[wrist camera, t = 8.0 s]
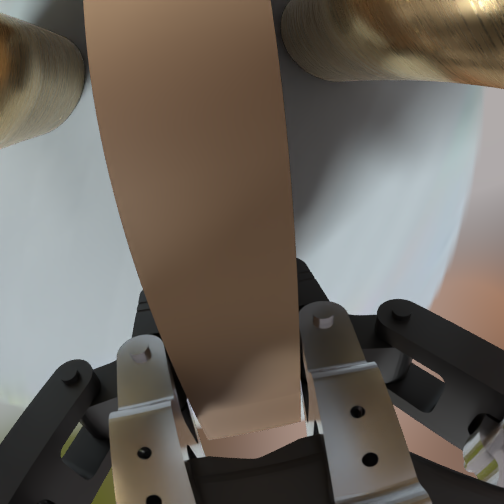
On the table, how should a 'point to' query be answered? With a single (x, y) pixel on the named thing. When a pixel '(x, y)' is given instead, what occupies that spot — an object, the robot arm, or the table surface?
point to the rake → (205, 195)
